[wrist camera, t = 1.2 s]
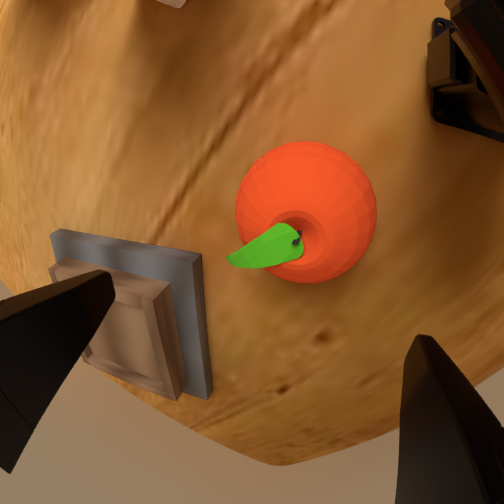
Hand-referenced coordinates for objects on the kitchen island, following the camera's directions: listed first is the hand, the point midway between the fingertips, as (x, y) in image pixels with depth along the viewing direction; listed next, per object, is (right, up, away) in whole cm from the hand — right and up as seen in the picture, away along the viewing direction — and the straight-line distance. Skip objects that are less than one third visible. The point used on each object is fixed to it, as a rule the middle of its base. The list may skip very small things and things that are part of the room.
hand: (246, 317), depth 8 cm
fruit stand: (-11, -4, +20) cm, 23 cm away
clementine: (+3, +5, +10) cm, 12 cm away
